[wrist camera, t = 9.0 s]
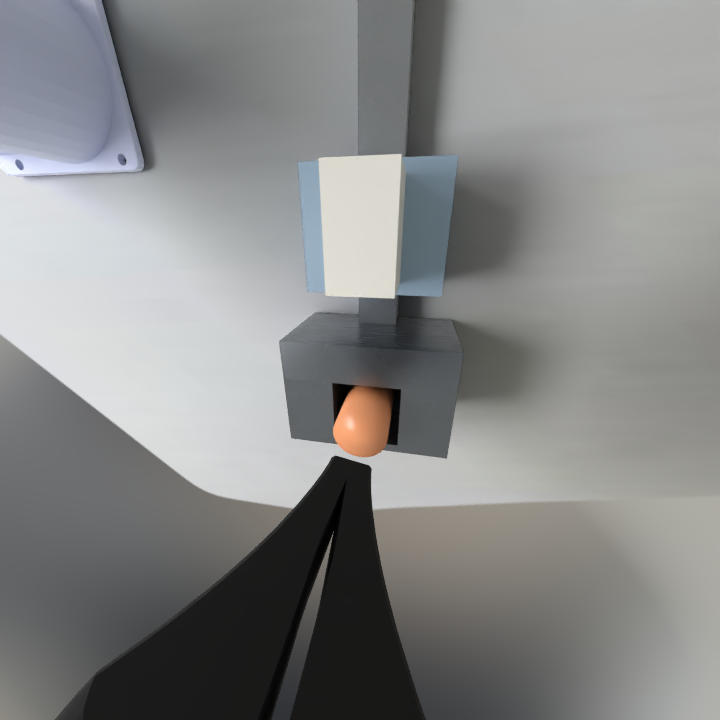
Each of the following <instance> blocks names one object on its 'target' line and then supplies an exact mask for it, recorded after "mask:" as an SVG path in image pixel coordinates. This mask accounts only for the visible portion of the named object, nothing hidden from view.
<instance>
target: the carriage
mask: <svg viewBox="0 0 720 720" xmlns="http://www.w3.org/2000/svg"><path fill="white" fill-rule="evenodd" d="M457 163H458V155H440V156H418V157H402V154H388V155H366V156H344V157H323V158H318V161H304V162H298V174H299V187H300V200H301V213H302V226H303V239H304V252H305V265H306V278H307V291H308V292H325V296H342V297H367V298H393V299H394V298H395V296H396V295H407V296H433V297H442V290H443V282H444V273H445V265H446V256H447V248H448V239H449V231H450V222H451V214H452V206H453V197H454V189H455V180H456V172H457Z"/></svg>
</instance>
